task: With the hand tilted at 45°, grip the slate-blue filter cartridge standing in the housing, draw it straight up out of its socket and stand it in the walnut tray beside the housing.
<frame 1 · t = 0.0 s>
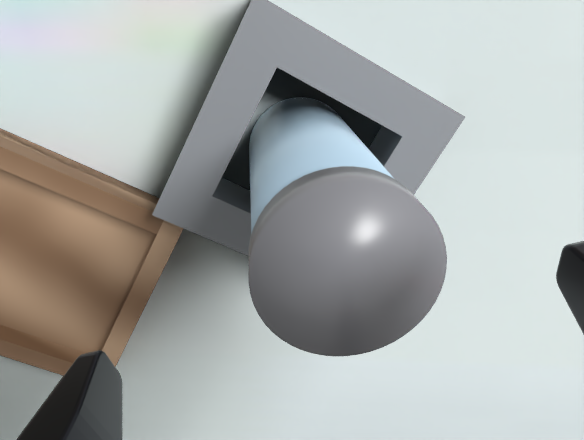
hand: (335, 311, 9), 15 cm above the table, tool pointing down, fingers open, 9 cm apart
filter cartridge: (316, 192, 18), in the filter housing
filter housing: (299, 148, 24), on the table
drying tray: (47, 255, 25), on the table
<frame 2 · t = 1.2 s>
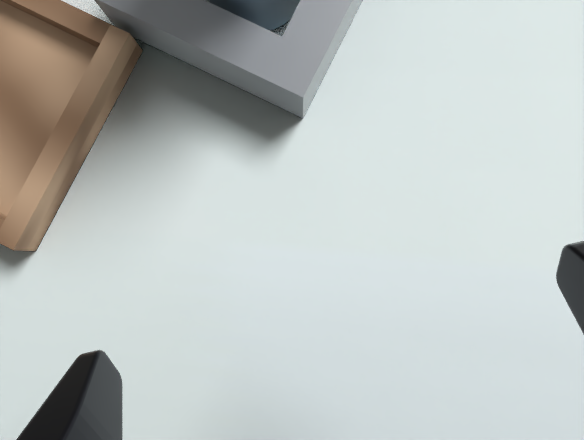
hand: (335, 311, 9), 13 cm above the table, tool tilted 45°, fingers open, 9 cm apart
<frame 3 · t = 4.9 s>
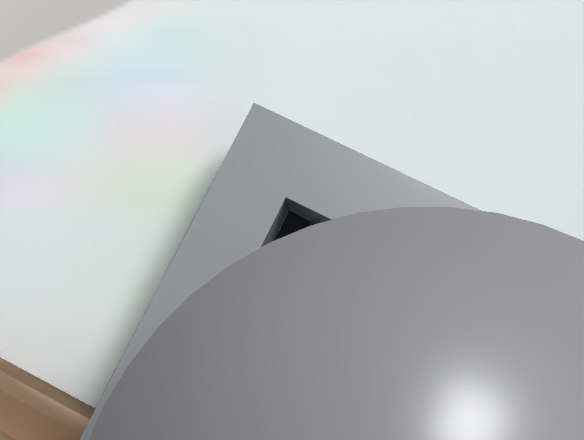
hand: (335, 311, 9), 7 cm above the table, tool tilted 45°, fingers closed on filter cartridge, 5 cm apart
filter cartridge: (349, 379, 9), in the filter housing, touching gripper
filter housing: (332, 337, 16), on the table
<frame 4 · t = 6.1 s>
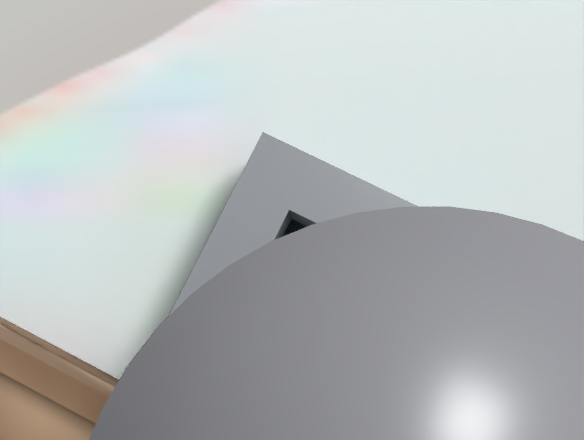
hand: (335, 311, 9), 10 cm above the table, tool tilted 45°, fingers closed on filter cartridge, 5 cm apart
filter cartridge: (349, 379, 9), point 9 cm above the table, touching gripper
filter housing: (327, 325, 19), on the table
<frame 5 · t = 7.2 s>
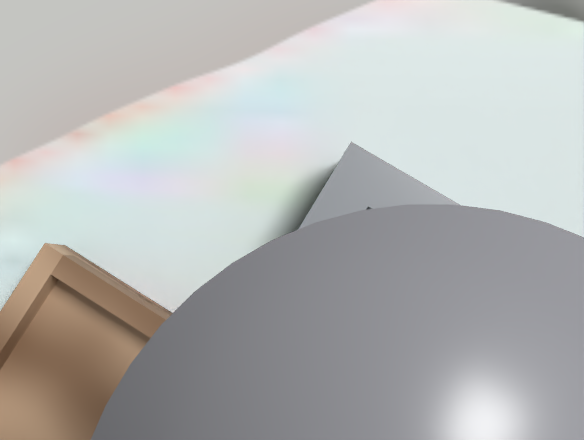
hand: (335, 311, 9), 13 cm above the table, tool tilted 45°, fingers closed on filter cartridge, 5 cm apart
filter cartridge: (351, 378, 9), point 13 cm above the table, touching gripper
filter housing: (383, 304, 22), on the table
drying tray: (96, 407, 22), on the table
when the fingers open (9 cm above the table, at t = 9.8 s): filter cartridge drops 1 cm, resting on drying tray.
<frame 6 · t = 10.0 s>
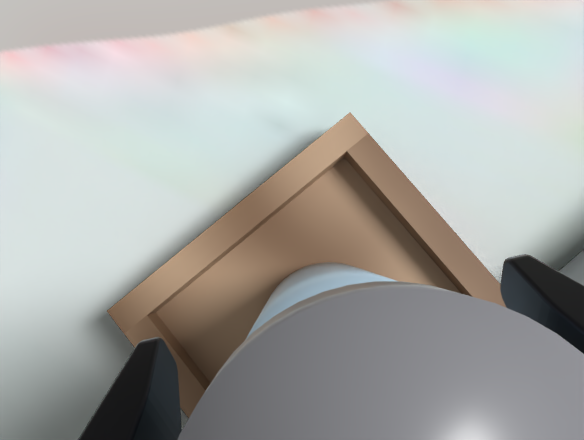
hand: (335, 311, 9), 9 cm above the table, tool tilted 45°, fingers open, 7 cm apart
filter cartridge: (348, 380, 11), in the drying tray, point 7 cm above the table
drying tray: (328, 327, 18), on the table
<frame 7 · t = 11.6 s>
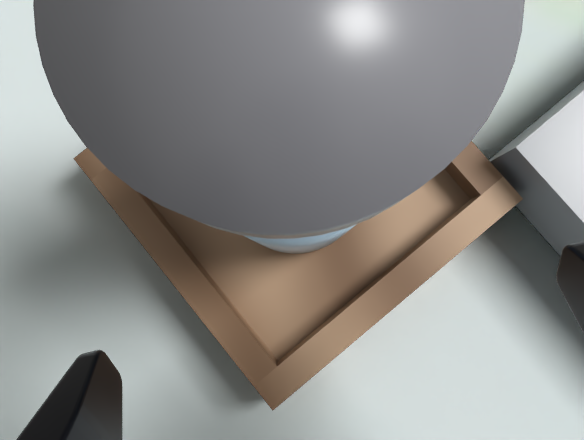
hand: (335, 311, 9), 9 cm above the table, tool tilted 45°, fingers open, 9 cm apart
filter cartridge: (291, 140, 11), in the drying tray, point 7 cm above the table
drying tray: (295, 186, 18), on the table
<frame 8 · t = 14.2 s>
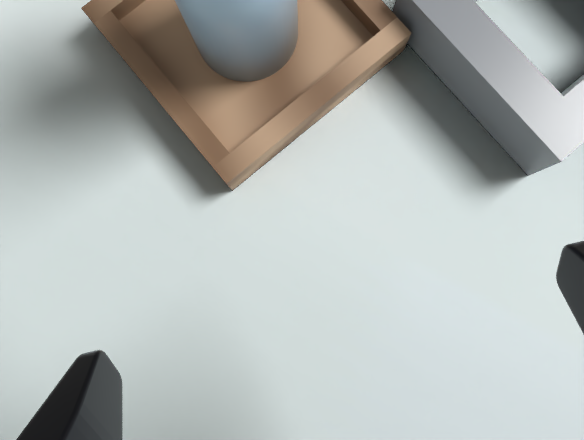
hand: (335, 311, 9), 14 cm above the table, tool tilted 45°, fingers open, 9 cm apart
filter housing: (534, 33, 24), on the table
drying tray: (248, 38, 24), on the table
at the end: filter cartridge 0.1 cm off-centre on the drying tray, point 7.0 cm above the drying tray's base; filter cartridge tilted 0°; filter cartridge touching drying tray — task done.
